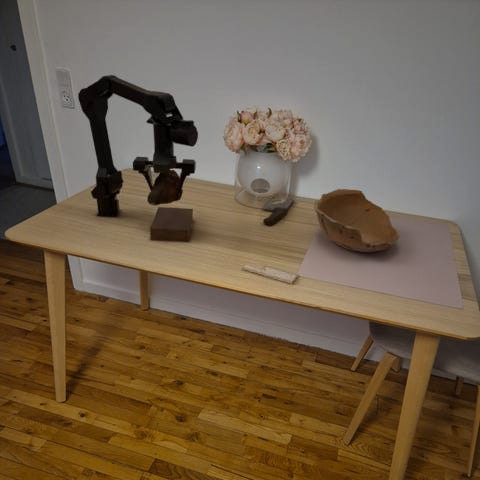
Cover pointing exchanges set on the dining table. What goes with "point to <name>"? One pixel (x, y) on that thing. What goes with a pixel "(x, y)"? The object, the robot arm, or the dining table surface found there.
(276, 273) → the white plastic strip tool
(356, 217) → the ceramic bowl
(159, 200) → the decorative rock
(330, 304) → the dining table surface
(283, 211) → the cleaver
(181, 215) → the dark walnut box
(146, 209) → the dining table surface
